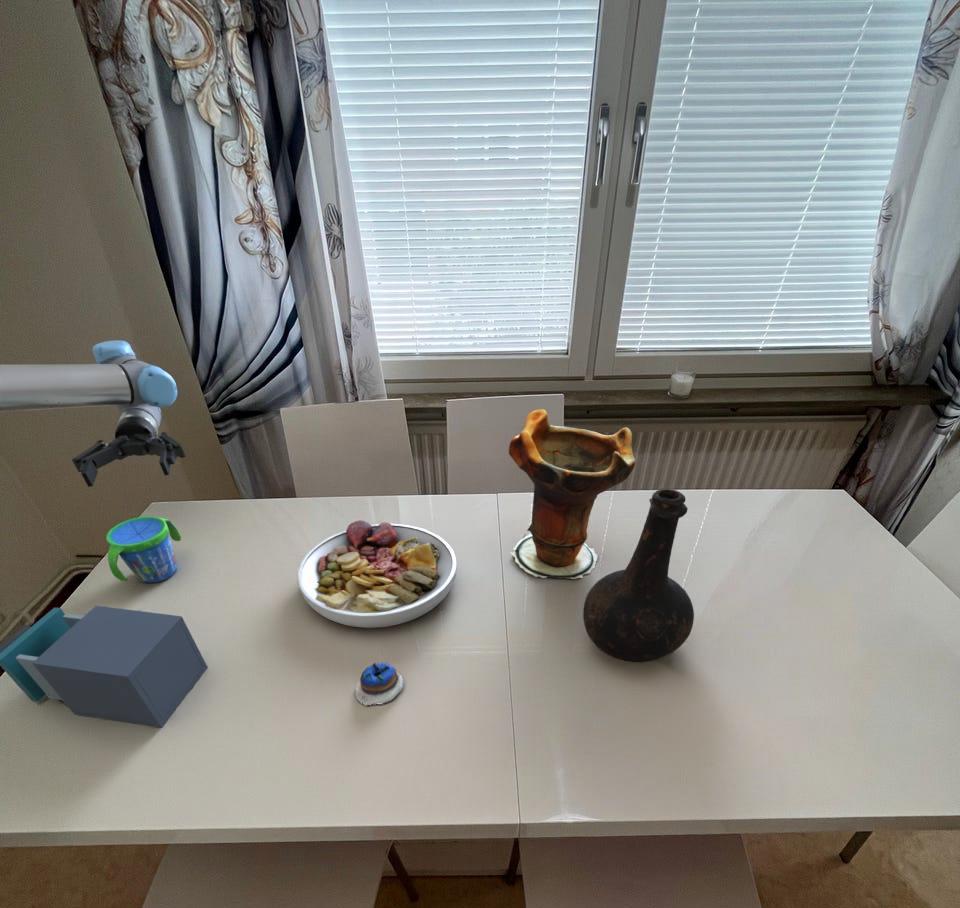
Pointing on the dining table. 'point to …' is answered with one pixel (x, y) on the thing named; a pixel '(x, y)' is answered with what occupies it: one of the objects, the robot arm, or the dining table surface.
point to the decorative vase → (565, 491)
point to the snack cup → (143, 548)
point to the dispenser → (124, 665)
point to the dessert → (378, 684)
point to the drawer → (34, 652)
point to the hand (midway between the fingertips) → (126, 474)
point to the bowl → (377, 574)
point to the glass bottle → (643, 593)
